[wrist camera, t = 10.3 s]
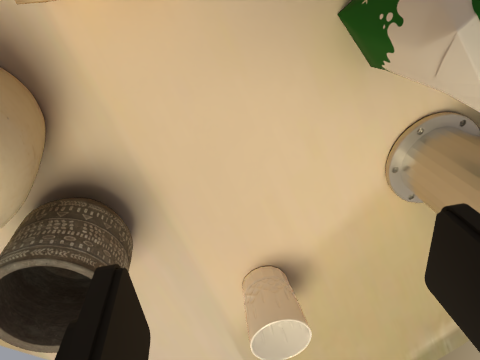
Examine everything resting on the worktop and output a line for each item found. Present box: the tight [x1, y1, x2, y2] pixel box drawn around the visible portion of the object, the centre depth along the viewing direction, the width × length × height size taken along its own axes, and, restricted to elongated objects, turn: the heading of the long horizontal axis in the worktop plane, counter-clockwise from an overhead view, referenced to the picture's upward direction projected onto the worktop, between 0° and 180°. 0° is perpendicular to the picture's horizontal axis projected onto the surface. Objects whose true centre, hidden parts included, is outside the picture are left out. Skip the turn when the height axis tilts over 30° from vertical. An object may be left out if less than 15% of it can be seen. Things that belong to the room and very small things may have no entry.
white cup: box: [242, 266, 312, 360], centre depth 47 cm, size 8×8×10 cm
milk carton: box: [338, 0, 480, 112], centre depth 27 cm, size 9×9×20 cm
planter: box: [0, 198, 133, 353], centre depth 36 cm, size 12×12×13 cm
